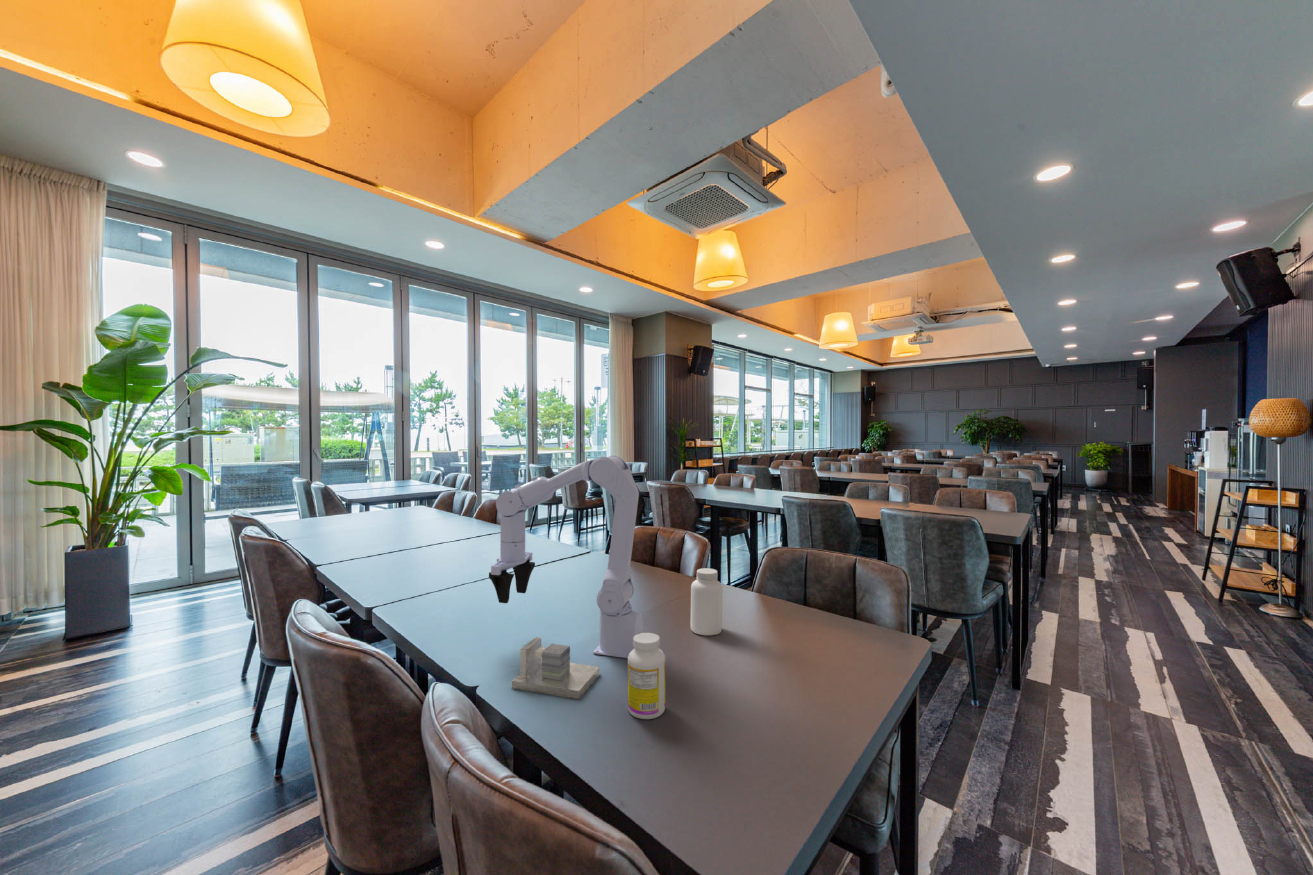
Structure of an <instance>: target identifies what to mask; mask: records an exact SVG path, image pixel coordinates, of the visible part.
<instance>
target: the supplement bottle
mask: <svg viewBox="0 0 1313 875" xmlns="http://www.w3.org/2000/svg"><path fill="white" fill-rule="evenodd" d="M660 641H661V638H660V636H659V635H658V634H656V633H653V632H642V633H640V634H637V635H635V636H634V638H633V645H634V648H635V649H633V650H632V651H631V652H630V653H629V656H628V658H627V709H628V712H629V713H630V714H631V715H632V716H633V717H634V718H636V719H640V720H653V719H656V718H658V717H660V716H661V715H663V713H664V712H665V710H666V655H665V653H664V652H663V651H664V650H662V649H661V648H660V645H661V642H660Z"/></svg>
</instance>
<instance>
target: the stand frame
mask: <svg viewBox="0 0 1313 875" xmlns="http://www.w3.org/2000/svg"><path fill="white" fill-rule="evenodd" d="M546 648H547V647H545V646H542V637H540V636H539V637H537V636H536V637H534V638H533V639H532V640H530V641H529V642H528V643H526V645H523V647H521V648H520V650H519V653H520V654H519V656H520V657H519V658H520V659H519V660H520V662H519V663H520V665H519V667H520V668H519V674H517V675H516V676H515V677H514V678H513V679H512V680H511V689H513V690H518V691H519V690H520V691H525V692H530V693H531V692H532V693H538V694H543V695H544V694H545V695H550V696H555V697H556V696H557V697H562V698H569V699H574V700H579V699H580V698H581V697H582V696H583V695H584V694H585V692H587V690H588V689H589V688H590V686H592V684H593V683H594V682H595V681H596V680H597V678H598V677H599V676H600V674H601V671H600V668H601V667H600V666H598V665H597V666H596V665H590V664H582V663H575V662H570V671H569V672H568V673H567V674H566V675H565V676H564V677H563V678H562V679H561V681H560V680H553V679H547V678H542V674H541V671H542V666H541V663H542V657H541V655H542V651H544V650H545V649H546Z"/></svg>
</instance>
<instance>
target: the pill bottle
mask: <svg viewBox="0 0 1313 875" xmlns="http://www.w3.org/2000/svg"><path fill="white" fill-rule="evenodd" d="M718 575H719V574H718V570H717V569H714V568H708V567H707V568H706V567H705V568H703V567H702V568H699V569H697V570H696V579H695V580H694V581H692V583H691V586H690V624H689V625H690V630H691V631H692V632H693V633H695V634H698V635H700V636H714V635H715V636H716V635H718V634H720V633H721V632H722V630H723V629H722V628H723V597H724V596H723V591H724V589H723V585H722V583H721V582H720V581H719V580H718V579H719V578H718Z"/></svg>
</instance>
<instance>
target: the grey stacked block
mask: <svg viewBox="0 0 1313 875" xmlns="http://www.w3.org/2000/svg"><path fill="white" fill-rule="evenodd" d="M541 657H542V658H541V659H542V663H541V666H542V671H541V674H542V678H547V679H553V680H560V681H561V679H562V678H563V677H564V676H565V675H566V674H567V673H568V672H569V671H570V663H571V662H570V661H571V646H570V645H566V644H565V645H563V644H557V643H551V644H549V645H548V646H547V647H546V649H545V650H544V651H542V655H541Z"/></svg>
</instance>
